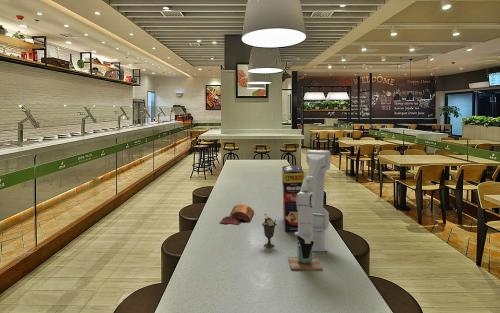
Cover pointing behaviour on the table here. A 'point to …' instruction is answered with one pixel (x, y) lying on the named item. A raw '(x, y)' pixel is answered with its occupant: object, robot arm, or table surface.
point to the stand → (304, 264)
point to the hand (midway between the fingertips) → (304, 255)
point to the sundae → (269, 230)
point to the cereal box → (291, 195)
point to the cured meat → (239, 214)
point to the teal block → (300, 256)
